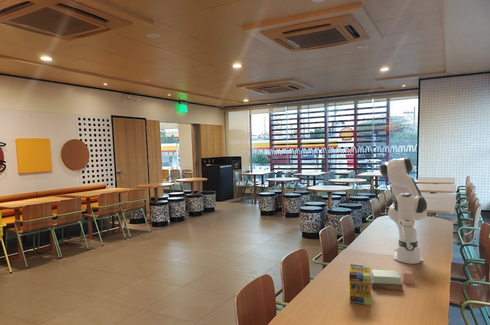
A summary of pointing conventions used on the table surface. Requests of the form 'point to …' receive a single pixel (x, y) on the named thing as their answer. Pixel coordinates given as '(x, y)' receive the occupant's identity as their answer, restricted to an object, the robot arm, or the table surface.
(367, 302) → the protein box
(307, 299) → the table surface
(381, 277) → the tower top
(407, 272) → the block
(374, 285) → the tower base
